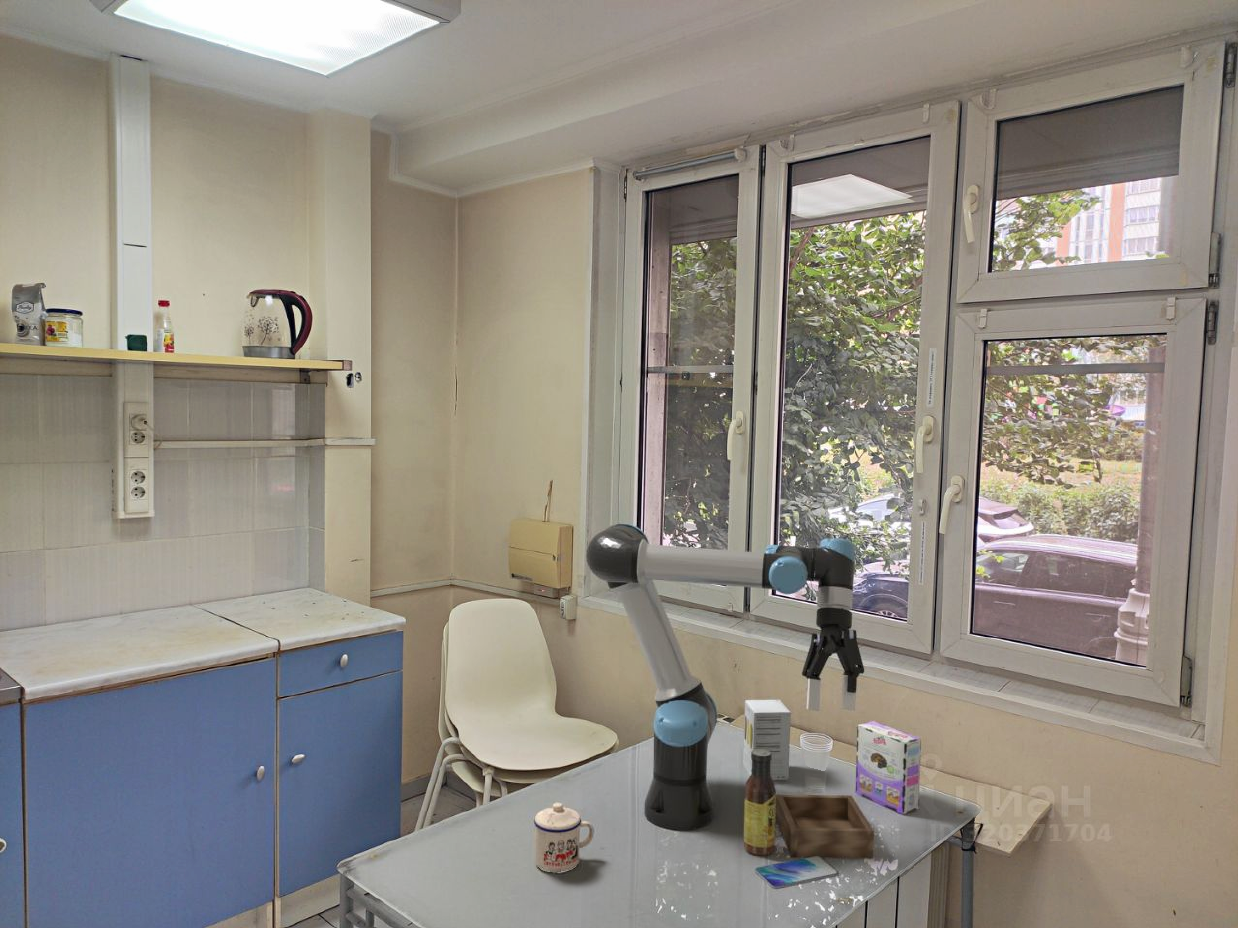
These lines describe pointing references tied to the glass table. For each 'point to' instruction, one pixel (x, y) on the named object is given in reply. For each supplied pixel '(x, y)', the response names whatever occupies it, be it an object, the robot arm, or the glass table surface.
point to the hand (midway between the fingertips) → (829, 709)
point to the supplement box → (768, 735)
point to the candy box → (888, 766)
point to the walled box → (824, 826)
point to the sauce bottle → (760, 806)
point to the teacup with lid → (559, 838)
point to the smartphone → (796, 872)
